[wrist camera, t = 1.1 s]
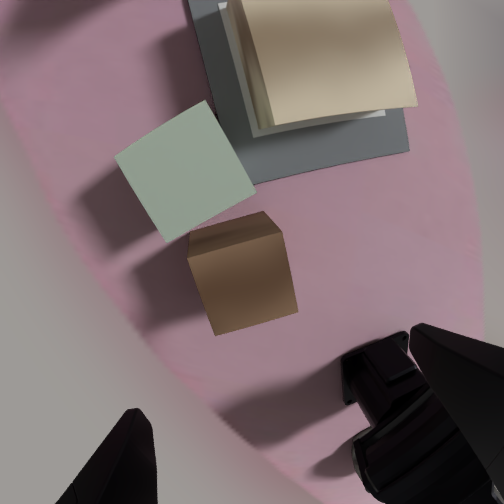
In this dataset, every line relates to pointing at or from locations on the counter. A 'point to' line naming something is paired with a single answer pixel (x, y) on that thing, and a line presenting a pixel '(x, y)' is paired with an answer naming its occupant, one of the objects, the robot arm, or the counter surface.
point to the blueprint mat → (287, 135)
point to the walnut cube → (242, 272)
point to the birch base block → (320, 58)
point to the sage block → (185, 172)
